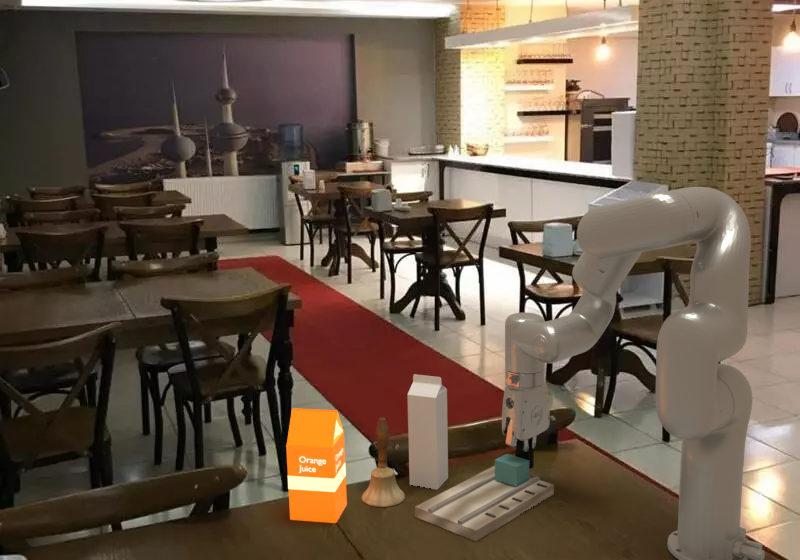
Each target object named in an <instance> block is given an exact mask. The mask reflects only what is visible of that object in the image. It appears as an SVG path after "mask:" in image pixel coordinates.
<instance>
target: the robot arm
mask: <svg viewBox="0 0 800 560" xmlns="http://www.w3.org/2000/svg"><path fill="white" fill-rule="evenodd" d="M749 224H750V223H749V220H748V218H747V216H746V214H745V211H744V210H743V208H742V207H741V206H740V205H739V204H738V203H737V201H735V200H734V198H732V197H731V196H730V195H728V194H726V193H724V192H723V191H720V190H718V189H717V188H712V187H707V186H689V187H683V188H682V187H681V188H679V189H672V190H671V189H670V190H665V191H659V192H654V193H651V194H646V195H642V196H637V197H634V198H630V199H626V200H622V201H618V202H615V203H609V204H605V205H598V206H595V207H592V208H590V209H589V210H587V212H586V213H584V215H583V216H582V217H581V219H580V220H579V223H578V225H577V230H576V241H577V243H578V246H579V248H580V250H581V251H582V253H581V254H580V255H579V257H578V259H577V261H576V263H575V265H574V266H573V268H572V271H571V274H572V279H573V281H574V282H575V283H576V285H577V286H579V288H580V289H582V290H583V292H582V293H581V296H580V298H579V299H578V301H577V303H576V304H575V306H574V308H572V311H571V312H570V313H569V314H568V315H564V316H561V317H558V318H554V319H551V320H547V321H545V319H544V318H543V316H541V315H540V314H537V313H535V312H534V313H533V312H515V313H511V314H509V315H507V318H506V319H505V323H504V368H505V369H504V385H505V386H504V391H503V399H502V408H501V409H502V411H501V430H502V435H503V436H505V437H506V438H505V445H506V446H509V447H513V449H515V456H516V457H520V458H523V459H526V460H529V471H530V470H531V469H533V468H534V467H535V466H534V465H535V462H534V458H535V457H534V455H535V453H534V452H535V449H534V448H535V447H536V445H537V444H536V443H537V438H538V436H539V435H540V434H541V433H544V432H545V431H547V430H548V429H549V428H550V420H551V419H550V402H549V401H550V399H549V392H548V390H549V389H548V386H547V382H546V381H545V379H546V377H545V374H546V373H545V372H546V369H545V364H555V363H558V362H561V361H565V360H567V359H569V358H572V357H574V356H577V355H580V354H583V353H586V352H588V351H589V350H590V349H591V348H593V347H594V345H596V343H598V341H599V339H601V337H602V336H603V334H604V332H605V331H606V329H607V327H608V326H609V325H610V322H611V320H612V319H613V317H614V313H615V309H616V304H617V292H618V291H619V289H620V287H621V285H622V284H623V283H624V282H625V279H626V278H627V276H628V275H629V274H630V272H631V270H632V268H633V267H634V265H635V264H636V263H637V261H638V259H640V257H641V255H642V253H644V252H645V253H646V252H650V251H651V252H652V251H655V250H662V249H663V250H664V249H667V248H673V247H676V246H680V245H684V244H689V243H692V242H694V243H696V252H695V255H694V257H693V261H692V264H691V269H690V274H689V277H690V288H689V289H690V290H689V301H688V303H687V304H688V305H687V306H685V307H683V308H680V309H677V310H675V311H674V312H673V313H671V314H670V315H669V316H668V317H667V318H665V320H664V321H663V323H662V325H661V327H660V329H659V332H658V336H657V339H656V340H657V341H656V357H655V358H656V360H655V361H656V362H655V409H656V413H657V417H658V419H659V421H660V424H661V426H662V427H663V428H664V429H665V431H666V432H668V433H669V435H671V436H672V437H674V438H676V439H678V440H681V448H680V449H681V450H680V463H679V465H680V467H679V469H680V471H679V489H678V491H679V492H678V513H677V515H678V518H677V519H678V520H677V530H675V531H672V532H671V533H670V534H669V535H668V537H667V549H668V551H669V553H670V554H671V555H672V557H675V558H676V559H678V560H765V555H766V552H765V550H764V549H763V543H760V542H756V541H753V540H750V539H748V537H746V533H747V531H746V530H747V528H745V527H740V526H741V513H742V511H741V509H742V495H743V480H744V479H743V477H744V465H745V464H744V462H745V450H746V440H747V432H748V428H749V423H750V418H751V414H752V409H753V408H752V407H753V392H752V387H751V385H750V382H749V380H748V378H747V377H746V376H745V374H744V373H742V371H740V369H738V368H736V367H734V366H732V365H729V364H725V363H720V362H723V361H725V360H727V359H730V358H731V357H733V356H735V355H736V354H738V353H739V352H740V351H742V349H743V348H744V346H745V345H746V344H745V343H746V342H747V336H748V322H749V321H748V319H749V317H748V316H749V291H750V287H749V285H750V284H749V281H750V280H749V279H750V262H751V261H750V260H751V259H750V258H751V250H752V249H751V248H752V247H751V244H752V241H751V238H752V236H751V228H750V225H749Z"/></svg>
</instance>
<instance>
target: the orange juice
mask: <svg viewBox="0 0 800 560" xmlns="http://www.w3.org/2000/svg"><path fill="white" fill-rule="evenodd" d="M288 427H289V428H288V432H287V434H288V435H287V440H286V441H287V442H286V445H285V448H286V465H287V466H286V467H287V489H288V500H289V502H288V503H289V505H288V506H289V518H290V519H289V520H290V521H304V522H315V523H331V524H336V523H337V522H338V521H339V519H340V517H341V516H342V514H343V512H344V510H345V508H346V507H347V505H348V501H347V479H346V478H347V469H346V468H347V466H346V464H347V463H346V452H345V451H346V449H345V445H346V444H345V431H344V428H343V424H342V421H341V419H340V414H339V412H338V410H336V409H335V410H334V409H316V408H315V409H314V408H298V407H297V408H296V407H294V408H291V412H290V419H289V425H288Z"/></svg>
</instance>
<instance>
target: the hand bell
mask: <svg viewBox="0 0 800 560" xmlns="http://www.w3.org/2000/svg"><path fill="white" fill-rule="evenodd" d="M389 440H390V429H389V426H388V423H387V419H386V418H385V417H378V421H377V425H376V429H375V441H376V446H377V449H378V450H377V451H378V457H377V459H378V460H377V462H378V463H377V467H376V468H374V469H372V470H371V472H370V479H369V484H368V487H367V488H366V490H364V492H363V493H362V496H361V501H362V502H363V503H364V504H366V505H367V506H368V505H369V506H371V507H378V508H388V507H393V506H394V507H395V506H396V505H398V504H399V505H400V504H401V503H402V502H403V501H404V500H405V498H406V494H405V493H404V491H403V490H402V489H400V487H399V486H398V484H397V480H396V479H397V478H396V475H395V471H394V469H393V468H390V467H388V451H387V450H388V445H389V442H390V441H389Z"/></svg>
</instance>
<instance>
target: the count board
mask: <svg viewBox="0 0 800 560" xmlns="http://www.w3.org/2000/svg"><path fill="white" fill-rule="evenodd" d="M554 495H555V484H554V483H550V482H547V481H544V480H541V477H540V476H537V475H535V476H533V477H532V476H529V480H528V481H526V482H525V483H523V484H521V485H519V486H518V487H516V486H513V485H510V484H507V483H504V482H501V481H498V480H495V465H493V466H491V467H490V468H487V469H485V470H483V471H481V472H479V473H477V474H476V475H474V476H472V477H470V478H468V479H466V480H464V481H462V482H460V483H458V484H456V485H454V486H452V487H450V488H448V489H447V490H445V491H442V492H441V493H439V494H436V495H435V496H433V497H431V498H429V499H427V500H424V501H423V502H422V503H421V502H420V504H417V505H416V506H414V517H415V518H417V519H419V520H422V521H424V522H427V523H428V524H429V523H430V524H432V525H434V526H436V527H439V528H442V529H444V530H447V531H450V532H452V533H454V534H457V535H459V536H461V537H464V538H466V539H469V540H472V541H474V542H478V541H479V540H481V539H482V538H484V537H486V536H487V535H489V534H491V533H492V532H494V531H495V530H497V529H499V528H501V527H502V526H504V525H505V524H508V523H509V522H510V521H512V520H514V519H516V518H517V517H519V516H520V514H521V513H522V514H524V513H525V512H524V511H526V510H527V511H529V510H530V509H532V508H533V506H534V507H535V506H537V505H539V504H540V503H542V502H544V501H546V500H547V499H549V498H551V497H553V496H554ZM543 500H544V501H543ZM541 501H542V502H541ZM538 503H539V504H538ZM531 507H532V508H531ZM528 509H529V510H528ZM527 511H526V512H527ZM523 512H524V513H523ZM522 514H521V515H522Z"/></svg>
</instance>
